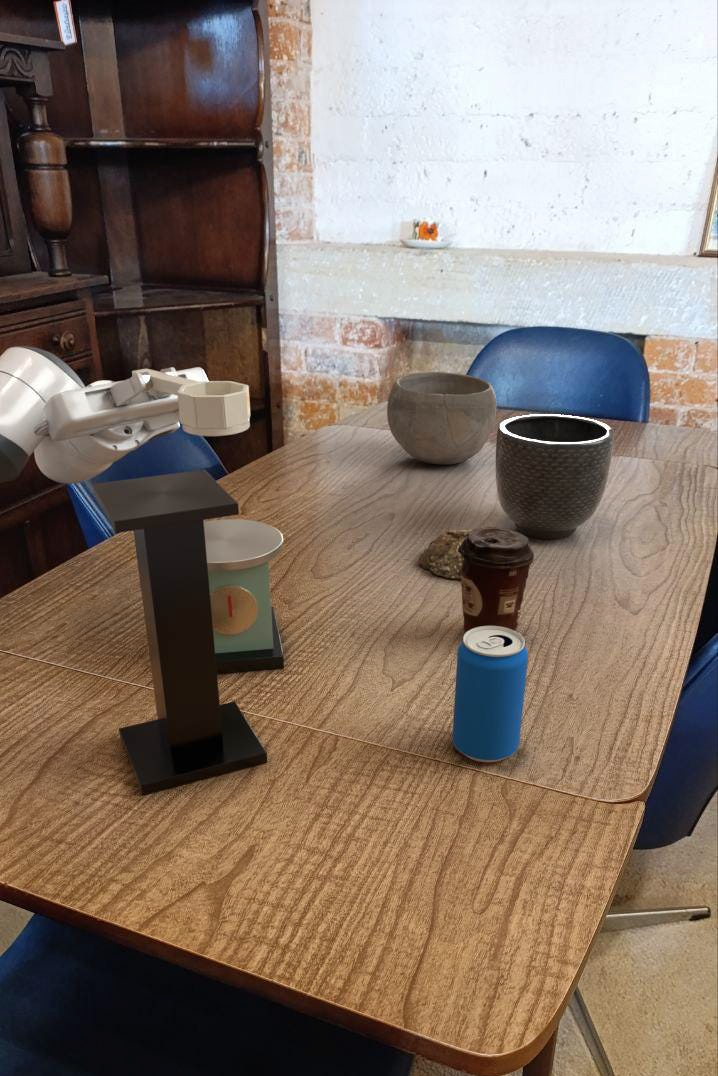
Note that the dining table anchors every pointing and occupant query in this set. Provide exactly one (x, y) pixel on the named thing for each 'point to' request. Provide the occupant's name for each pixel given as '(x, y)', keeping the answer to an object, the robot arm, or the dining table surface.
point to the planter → (552, 472)
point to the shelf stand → (178, 632)
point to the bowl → (441, 415)
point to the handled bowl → (206, 403)
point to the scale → (243, 594)
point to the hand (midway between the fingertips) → (158, 376)
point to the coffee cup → (493, 577)
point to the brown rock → (444, 554)
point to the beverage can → (489, 693)
